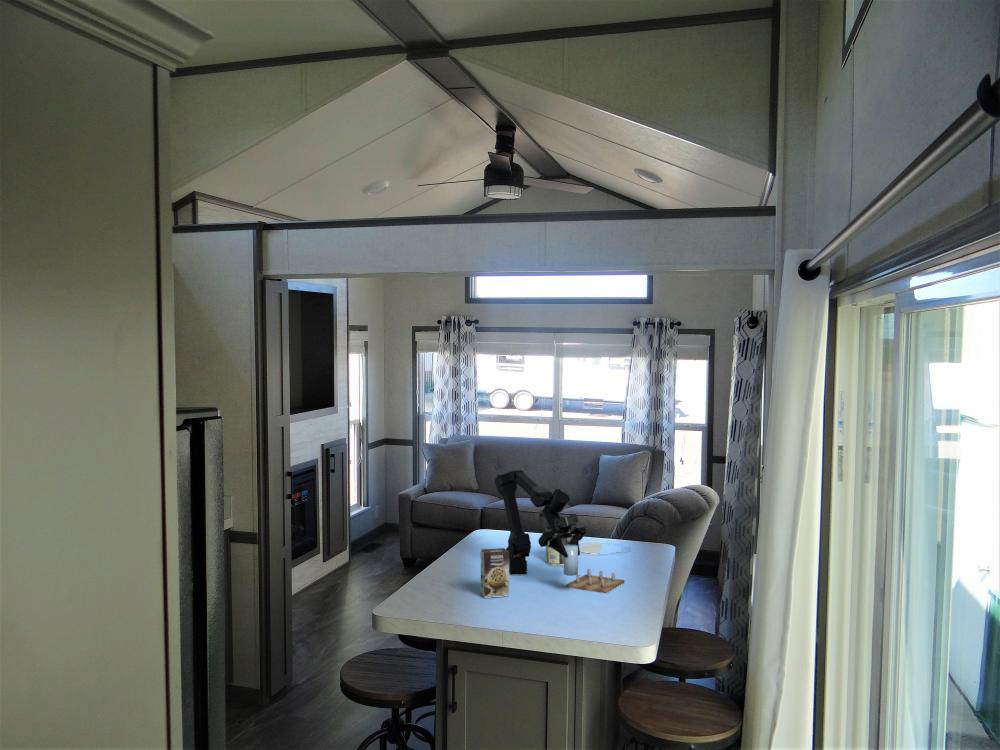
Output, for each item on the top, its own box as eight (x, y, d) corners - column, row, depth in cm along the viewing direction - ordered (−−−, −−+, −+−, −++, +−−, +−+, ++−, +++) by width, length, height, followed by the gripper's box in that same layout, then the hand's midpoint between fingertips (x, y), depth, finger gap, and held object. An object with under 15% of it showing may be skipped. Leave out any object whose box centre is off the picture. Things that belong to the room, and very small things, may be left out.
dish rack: (566, 586, 292) (566, 576, 292) (585, 577, 306) (585, 566, 306) (606, 593, 284) (606, 582, 284) (624, 582, 297) (624, 572, 297)
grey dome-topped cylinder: (566, 576, 282) (566, 547, 281) (562, 572, 286) (561, 544, 286) (579, 575, 283) (579, 546, 283) (575, 571, 288) (575, 543, 287)
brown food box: (484, 599, 278) (484, 552, 278) (480, 594, 284) (479, 548, 284) (509, 596, 281) (509, 551, 280) (504, 591, 287) (504, 547, 287)
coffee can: (569, 560, 333) (569, 526, 333) (571, 566, 323) (571, 531, 323) (544, 560, 333) (544, 526, 333) (545, 566, 323) (545, 531, 323)
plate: (557, 546, 360) (557, 544, 360) (612, 540, 370) (612, 539, 370) (585, 559, 334) (585, 558, 334) (643, 553, 344) (643, 552, 344)
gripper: (542, 509, 282) (562, 546, 273) (583, 504, 293) (603, 539, 284) (530, 528, 289) (548, 564, 280) (570, 522, 299) (589, 557, 290)
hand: (573, 556), depth 283 cm, fingers closed on grey dome-topped cylinder, 5 cm apart
